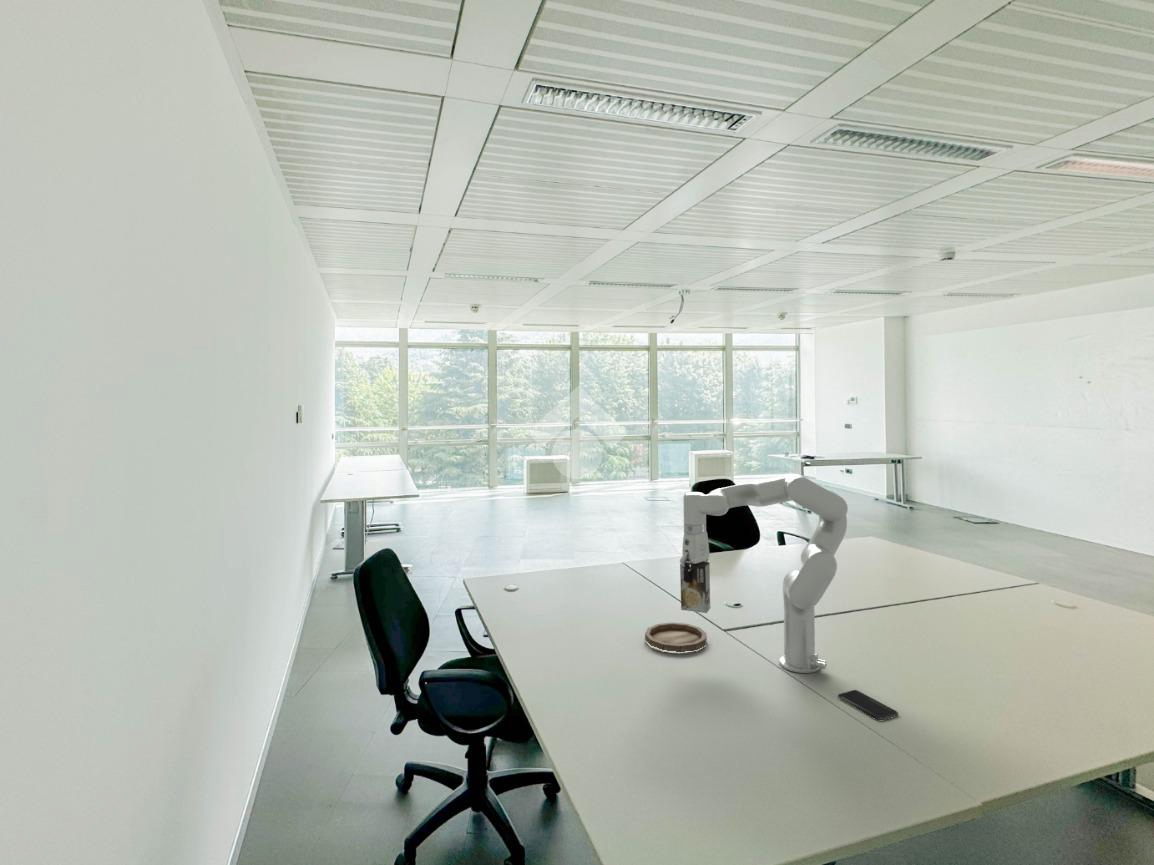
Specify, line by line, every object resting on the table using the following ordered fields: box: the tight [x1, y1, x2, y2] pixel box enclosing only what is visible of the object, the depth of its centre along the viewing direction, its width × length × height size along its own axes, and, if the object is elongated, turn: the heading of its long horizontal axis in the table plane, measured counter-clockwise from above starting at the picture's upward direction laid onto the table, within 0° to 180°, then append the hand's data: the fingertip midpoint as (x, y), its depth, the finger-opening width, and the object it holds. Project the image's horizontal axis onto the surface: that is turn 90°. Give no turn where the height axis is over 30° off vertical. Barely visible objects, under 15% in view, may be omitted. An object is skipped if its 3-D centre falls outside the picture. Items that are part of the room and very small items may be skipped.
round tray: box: [644, 622, 707, 652], centre depth 218 cm, size 22×22×3 cm
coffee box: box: [679, 561, 711, 614], centre depth 201 cm, size 9×6×16 cm
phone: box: [837, 689, 899, 721], centre depth 168 cm, size 8×1×15 cm
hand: (695, 578), depth 201 cm, fingers closed on coffee box, 7 cm apart
